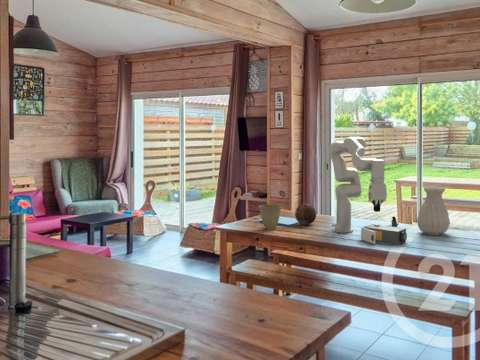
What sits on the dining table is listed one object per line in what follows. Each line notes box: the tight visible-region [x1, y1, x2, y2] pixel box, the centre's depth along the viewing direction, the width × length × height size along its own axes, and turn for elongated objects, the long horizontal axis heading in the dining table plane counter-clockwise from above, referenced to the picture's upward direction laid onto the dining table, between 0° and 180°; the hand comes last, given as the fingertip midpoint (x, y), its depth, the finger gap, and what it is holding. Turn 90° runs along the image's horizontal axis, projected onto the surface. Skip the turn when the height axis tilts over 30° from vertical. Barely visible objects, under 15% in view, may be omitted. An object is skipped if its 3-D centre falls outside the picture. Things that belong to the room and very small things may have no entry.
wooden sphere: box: [294, 203, 317, 226], centre depth 347 cm, size 15×15×15 cm
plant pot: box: [259, 204, 282, 231], centre depth 332 cm, size 15×15×16 cm
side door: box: [360, 226, 376, 245], centre depth 293 cm, size 14×2×7 cm, turn 17°
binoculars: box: [390, 216, 399, 227], centre depth 318 cm, size 9×11×10 cm
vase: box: [416, 186, 451, 236], centre depth 315 cm, size 20×20×30 cm
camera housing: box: [362, 223, 408, 246], centre depth 296 cm, size 24×12×9 cm, turn 47°
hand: (376, 211), depth 289 cm, fingers closed
